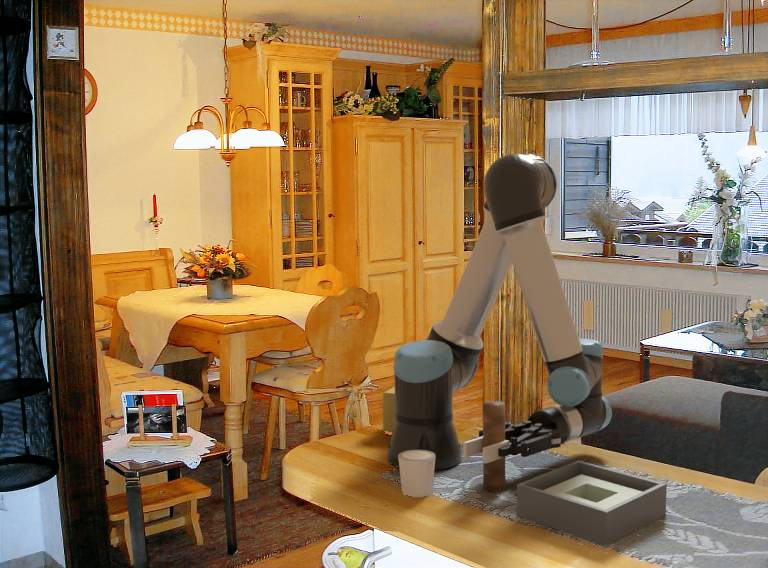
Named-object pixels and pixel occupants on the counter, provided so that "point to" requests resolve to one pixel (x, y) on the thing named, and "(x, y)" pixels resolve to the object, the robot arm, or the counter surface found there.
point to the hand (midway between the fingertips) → (474, 452)
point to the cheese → (389, 410)
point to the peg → (492, 435)
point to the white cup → (417, 472)
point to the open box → (591, 501)
